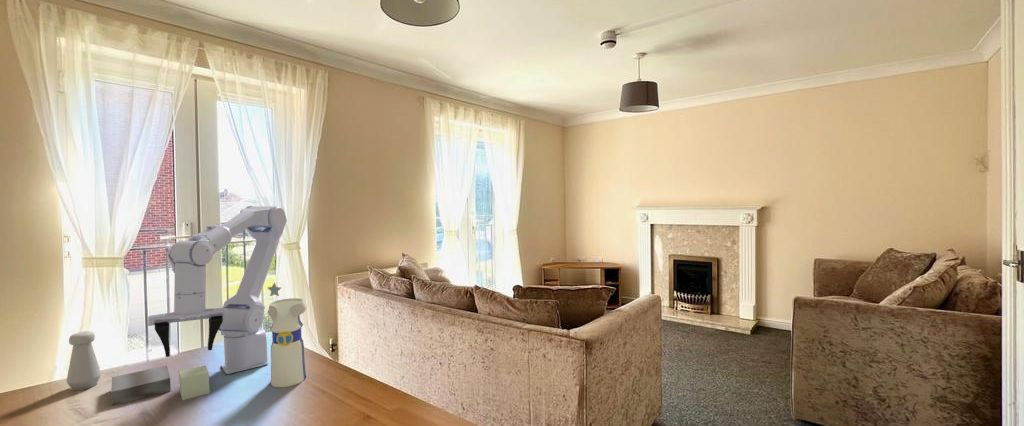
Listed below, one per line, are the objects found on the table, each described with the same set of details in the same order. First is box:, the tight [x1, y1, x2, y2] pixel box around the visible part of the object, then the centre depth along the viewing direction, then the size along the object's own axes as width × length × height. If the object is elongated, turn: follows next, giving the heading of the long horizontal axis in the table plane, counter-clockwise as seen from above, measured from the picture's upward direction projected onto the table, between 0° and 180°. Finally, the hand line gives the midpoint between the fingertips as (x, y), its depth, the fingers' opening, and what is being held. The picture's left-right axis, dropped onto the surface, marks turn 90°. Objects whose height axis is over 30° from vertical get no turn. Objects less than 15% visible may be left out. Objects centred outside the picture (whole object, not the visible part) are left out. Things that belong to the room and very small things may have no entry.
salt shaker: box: [66, 330, 102, 391], centre depth 102 cm, size 6×6×13 cm
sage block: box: [178, 365, 210, 401], centre depth 98 cm, size 5×5×5 cm
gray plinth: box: [110, 365, 172, 406], centre depth 100 cm, size 10×10×3 cm
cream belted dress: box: [267, 282, 308, 388], centre depth 104 cm, size 8×9×25 cm
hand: (189, 352), depth 98 cm, fingers open, 7 cm apart
